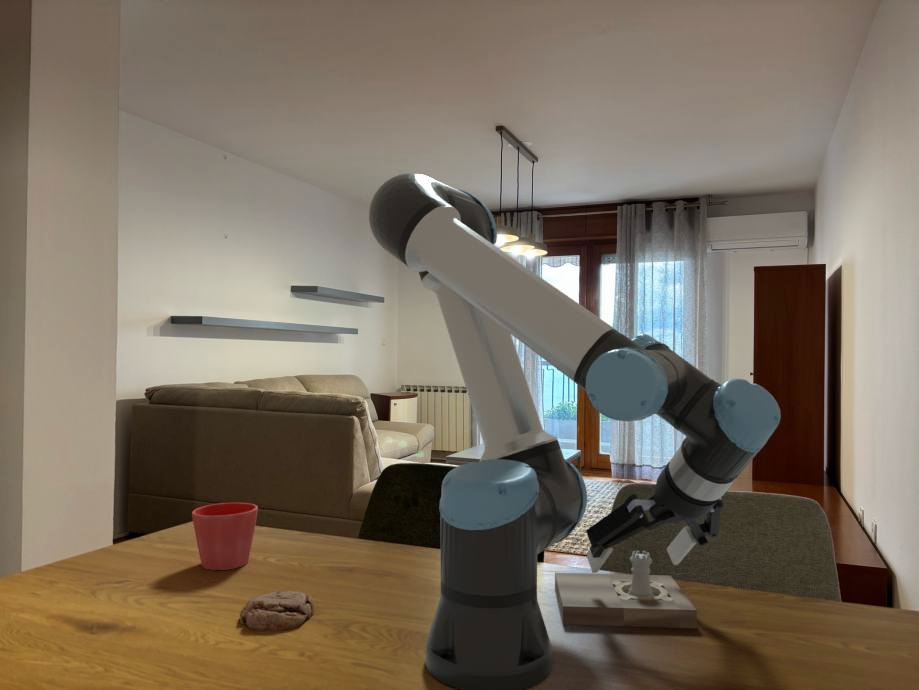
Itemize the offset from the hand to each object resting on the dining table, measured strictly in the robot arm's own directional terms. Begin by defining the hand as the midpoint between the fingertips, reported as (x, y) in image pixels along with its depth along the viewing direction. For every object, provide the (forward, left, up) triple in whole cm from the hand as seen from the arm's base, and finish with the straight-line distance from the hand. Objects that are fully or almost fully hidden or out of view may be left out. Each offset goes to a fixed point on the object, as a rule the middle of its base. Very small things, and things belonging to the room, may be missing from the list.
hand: (632, 560), depth 100 cm
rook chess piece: (-2, -1, -6) cm, 7 cm away
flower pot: (+13, +68, -6) cm, 70 cm away
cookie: (-9, +51, -7) cm, 52 cm away
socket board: (-2, +2, -6) cm, 7 cm away
